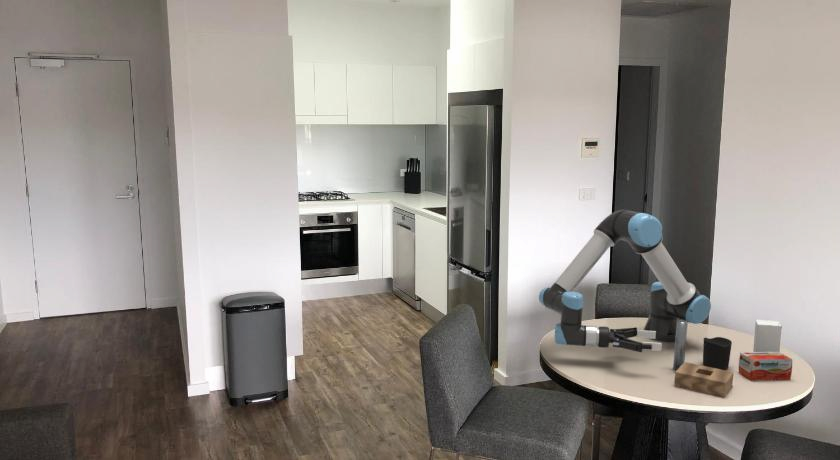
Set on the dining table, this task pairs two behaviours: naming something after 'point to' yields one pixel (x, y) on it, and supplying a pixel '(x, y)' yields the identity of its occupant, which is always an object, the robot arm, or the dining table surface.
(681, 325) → the pin
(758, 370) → the medicine box
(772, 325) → the skincare box
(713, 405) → the dining table surface
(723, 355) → the pen holder
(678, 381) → the socket block
